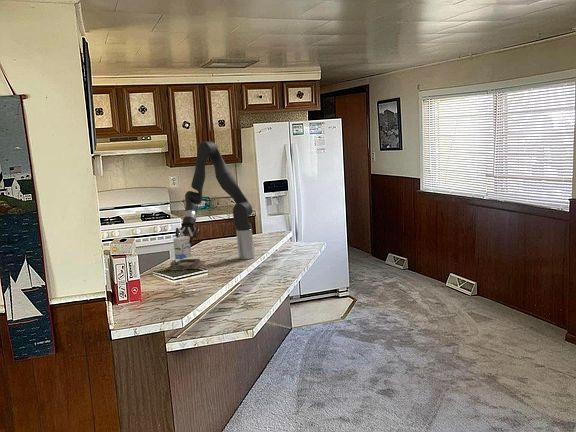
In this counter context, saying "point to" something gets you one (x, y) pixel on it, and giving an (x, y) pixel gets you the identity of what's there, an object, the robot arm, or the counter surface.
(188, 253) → the ink box
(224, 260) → the counter surface
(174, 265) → the dock
